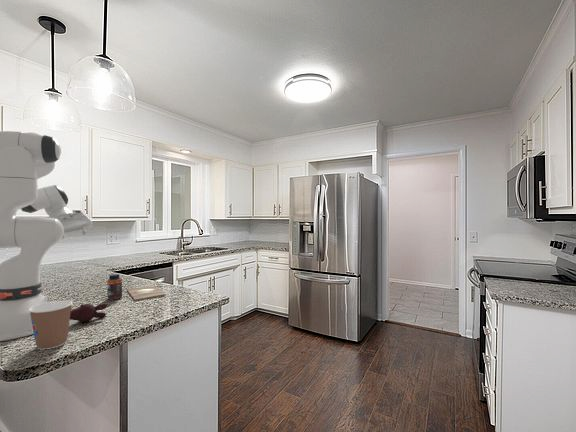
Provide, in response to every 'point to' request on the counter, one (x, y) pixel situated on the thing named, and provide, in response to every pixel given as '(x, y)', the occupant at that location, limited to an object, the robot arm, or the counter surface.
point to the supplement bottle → (114, 287)
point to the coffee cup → (50, 323)
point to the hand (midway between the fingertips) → (73, 235)
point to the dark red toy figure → (87, 312)
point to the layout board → (145, 292)
